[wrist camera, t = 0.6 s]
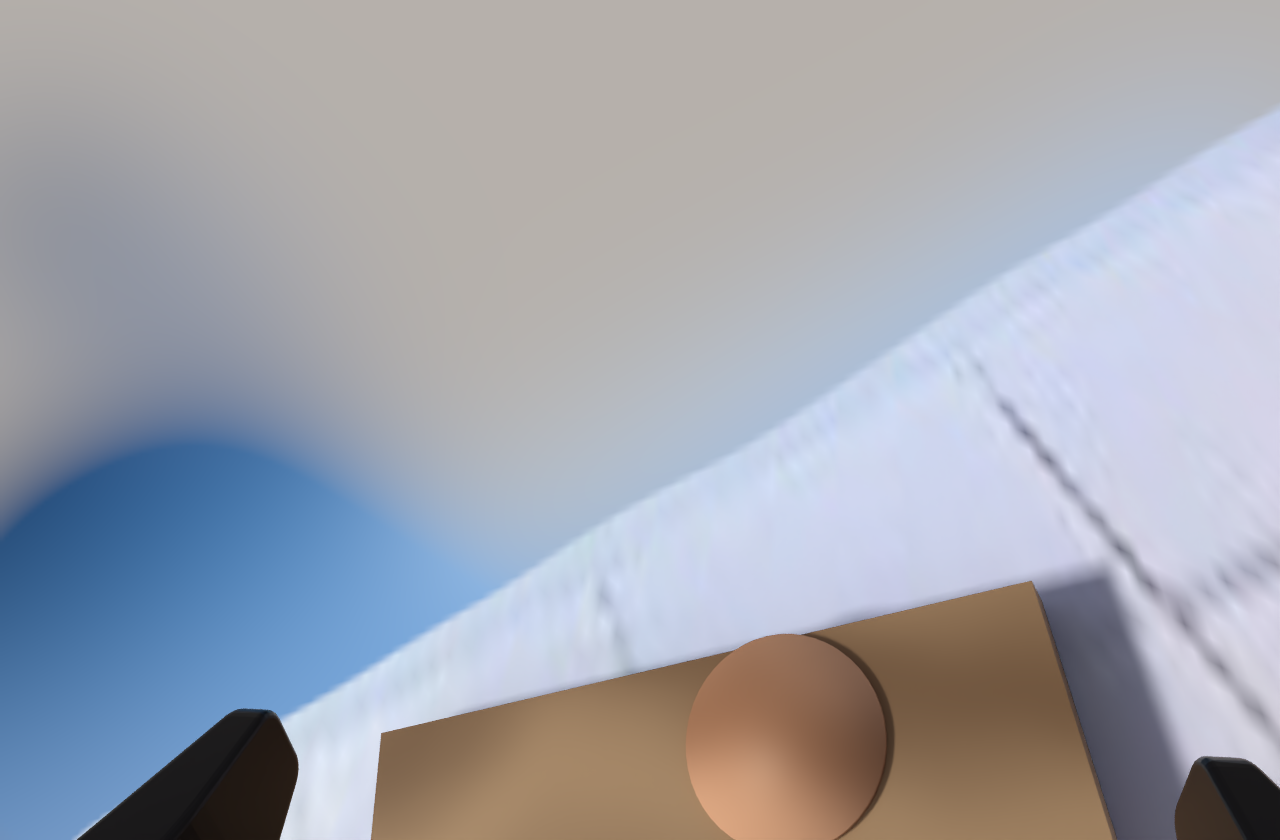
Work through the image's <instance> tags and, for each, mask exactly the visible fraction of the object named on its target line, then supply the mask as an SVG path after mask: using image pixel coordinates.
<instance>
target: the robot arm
mask: <svg viewBox="0 0 1280 840" xmlns="http://www.w3.org/2000/svg"><path fill="white" fill-rule="evenodd" d="M297 777H298V758H297V755H296V752H295V750H294V748H293V746H292V744H291V742H290V740H289V738H288V736H287V734H286V731H285V729H284V727H283V725H282V723H281V721H280V719H279V717H278V716H277V714H276V713H274V712H273V711H271V710H262V709H237V710H235V711H233V712H231V713H229V714H228V715H226V716H225V717H224V718H223V719H221V720H220V721H219V722H218V723H216V724H215V725H214V726H213V727H212V728H210V729H209V730H208V731H207V732H206V733H205V734H203V735H202V736H201V737H200V738H199V739H197V740H196V741H195V742H194V743H192V744H191V745H190V746H189V747H188V748H186V749H185V750H184V751H183V752H182V753H180V754H179V755H178V756H177V757H176V758H174V759H173V760H172V761H171V762H170V763H168V764H167V765H166V766H165V767H164V768H162V769H161V770H160V771H159V772H158V773H156V774H155V775H154V776H153V777H152V778H150V779H149V780H148V781H147V782H146V783H144V784H143V785H142V786H141V787H140V788H138V789H137V790H136V791H135V792H134V793H132V794H131V795H130V796H129V797H128V798H126V799H125V800H124V801H123V802H122V803H120V804H119V805H118V806H117V807H116V808H114V809H113V810H112V811H111V812H110V813H108V814H107V815H106V816H105V817H104V818H102V819H101V820H100V821H99V822H98V823H96V824H95V825H94V826H93V827H92V828H90V829H89V830H88V831H87V832H86V833H84V834H83V835H82V836H81V837H79V838H78V839H77V840H280V836H281V833H282V830H283V826H284V823H285V819H286V816H287V813H288V809H289V806H290V802H291V799H292V796H293V792H294V789H295V785H296V782H297ZM1175 830H1176V836H1177V840H1280V788H1279V787H1278V786H1277V785H1276V784H1275V783H1274V782H1273V781H1272V780H1271V779H1270V778H1269V777H1268V776H1267V775H1266V774H1265V773H1264V772H1263V771H1262V770H1261V769H1260V768H1258V767H1257V766H1256V765H1255V764H1253V763H1251V762H1250V761H1248V760H1246V759H1242V758H1231V757H1211V756H1203V757H1200V758H1199V759H1197V760H1196V761H1195V762H1194V764H1193V765H1192V768H1191V770H1190V773H1189V775H1188V778H1187V780H1186V783H1185V786H1184V788H1183V791H1182V793H1181V796H1180V798H1179V801H1178V803H1177V806H1176V810H1175Z"/></svg>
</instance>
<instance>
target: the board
mask: <svg viewBox="0 0 1280 840" xmlns="http://www.w3.org/2000/svg"><path fill="white" fill-rule="evenodd" d="M371 840H1117V838H1116V835H1115V832H1114V828H1113V825H1112V822H1111V819H1110V816H1109V813H1108V809H1107V806H1106V803H1105V800H1104V797H1103V793H1102V790H1101V787H1100V784H1099V781H1098V778H1097V774H1096V771H1095V768H1094V765H1093V762H1092V759H1091V755H1090V752H1089V749H1088V746H1087V743H1086V740H1085V736H1084V733H1083V730H1082V727H1081V724H1080V721H1079V717H1078V714H1077V711H1076V708H1075V705H1074V702H1073V698H1072V695H1071V692H1070V689H1069V686H1068V683H1067V679H1066V676H1065V673H1064V670H1063V667H1062V664H1061V660H1060V657H1059V654H1058V651H1057V648H1056V645H1055V641H1054V638H1053V635H1052V632H1051V629H1050V626H1049V622H1048V619H1047V616H1046V613H1045V610H1044V607H1043V603H1042V600H1041V598H1040V596H1039V594H1038V592H1037V591H1036V589H1035V587H1034V585H1033V583H1032V581H1028V582H1024V583H1020V584H1016V585H1011V586H1007V587H1003V588H999V589H994V590H990V591H986V592H982V593H977V594H973V595H969V596H964V597H960V598H956V599H952V600H947V601H943V602H939V603H935V604H930V605H926V606H922V607H918V608H913V609H909V610H905V611H901V612H896V613H892V614H888V615H883V616H879V617H875V618H871V619H866V620H862V621H858V622H854V623H849V624H845V625H841V626H837V627H832V628H828V629H824V630H820V631H815V632H811V633H807V634H802V635H796V634H777V635H771V636H766V637H763V638H759V639H756V640H753V641H751V642H749V643H747V644H745V645H743V646H741V647H739V648H738V649H736V650H734V651H730V652H726V653H721V654H717V655H713V656H709V657H704V658H700V659H696V660H692V661H687V662H683V663H679V664H675V665H670V666H666V667H662V668H658V669H653V670H649V671H645V672H640V673H636V674H632V675H628V676H623V677H619V678H615V679H611V680H606V681H602V682H598V683H594V684H589V685H585V686H581V687H577V688H572V689H568V690H564V691H559V692H555V693H551V694H547V695H542V696H538V697H534V698H530V699H525V700H521V701H517V702H513V703H508V704H504V705H500V706H496V707H491V708H487V709H483V710H478V711H474V712H470V713H466V714H461V715H457V716H453V717H449V718H444V719H440V720H436V721H432V722H427V723H423V724H419V725H415V726H410V727H406V728H402V729H397V730H393V731H389V732H385V733H381V742H380V753H379V763H378V773H377V783H376V794H375V804H374V814H373V824H372V834H371Z"/></svg>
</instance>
